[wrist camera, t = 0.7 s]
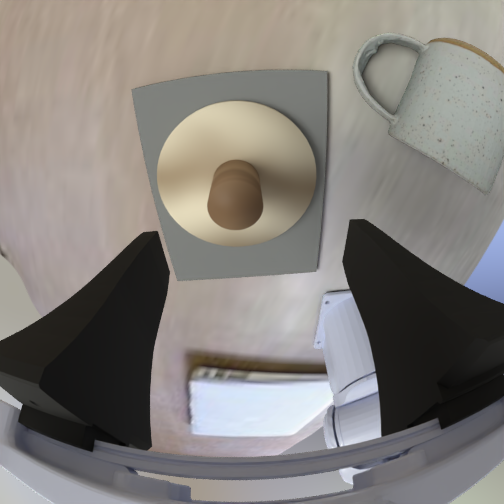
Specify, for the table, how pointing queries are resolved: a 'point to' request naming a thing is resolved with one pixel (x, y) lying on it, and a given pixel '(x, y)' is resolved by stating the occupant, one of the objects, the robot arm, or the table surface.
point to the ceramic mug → (447, 106)
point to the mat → (248, 89)
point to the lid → (236, 173)
